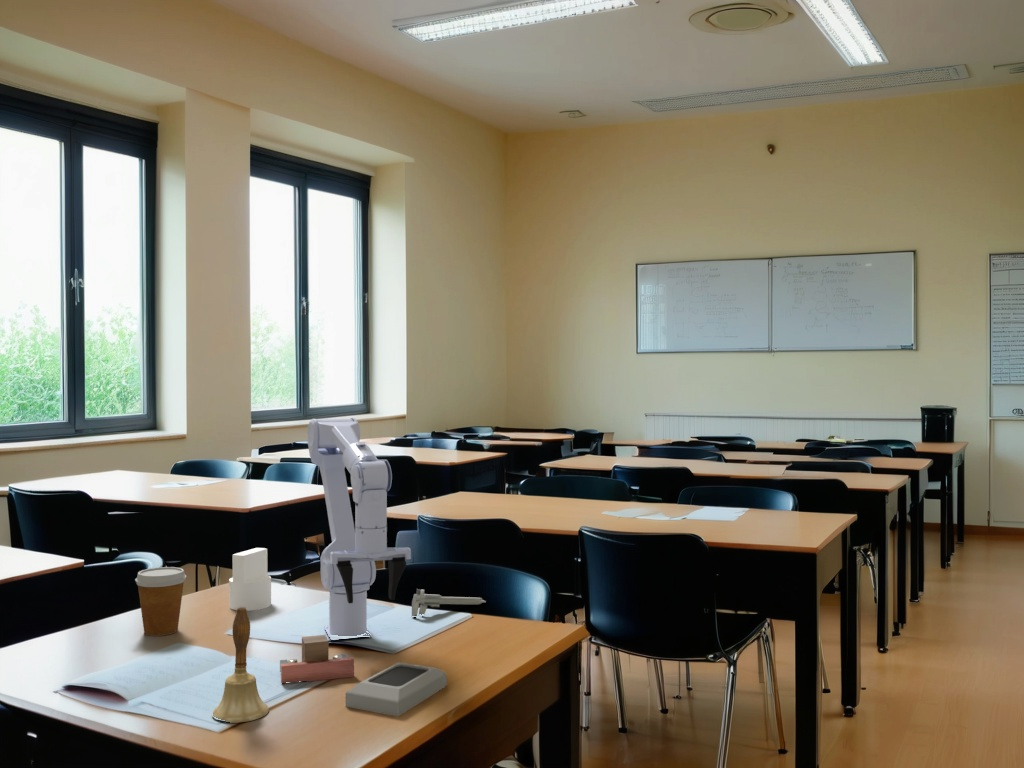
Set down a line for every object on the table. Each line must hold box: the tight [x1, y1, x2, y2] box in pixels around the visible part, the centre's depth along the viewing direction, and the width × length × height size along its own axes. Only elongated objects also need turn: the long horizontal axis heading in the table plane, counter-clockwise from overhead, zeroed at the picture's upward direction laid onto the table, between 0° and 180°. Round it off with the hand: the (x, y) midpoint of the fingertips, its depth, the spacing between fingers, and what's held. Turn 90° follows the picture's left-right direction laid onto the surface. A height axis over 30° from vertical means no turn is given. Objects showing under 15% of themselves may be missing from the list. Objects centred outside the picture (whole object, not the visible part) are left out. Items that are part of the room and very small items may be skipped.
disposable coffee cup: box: [134, 566, 187, 637], centre depth 184 cm, size 10×10×12 cm
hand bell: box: [212, 607, 270, 724], centre depth 140 cm, size 8×8×16 cm
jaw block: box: [301, 634, 330, 662], centre depth 159 cm, size 4×4×6 cm
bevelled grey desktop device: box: [345, 661, 448, 717], centre depth 148 cm, size 10×4×15 cm
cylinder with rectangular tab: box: [228, 547, 272, 612], centre depth 205 cm, size 9×9×12 cm
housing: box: [279, 653, 355, 684], centre depth 158 cm, size 7×12×3 cm, turn 109°
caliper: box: [411, 588, 487, 617], centre depth 201 cm, size 20×1×6 cm, turn 134°
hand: (371, 600), depth 169 cm, fingers open, 7 cm apart
